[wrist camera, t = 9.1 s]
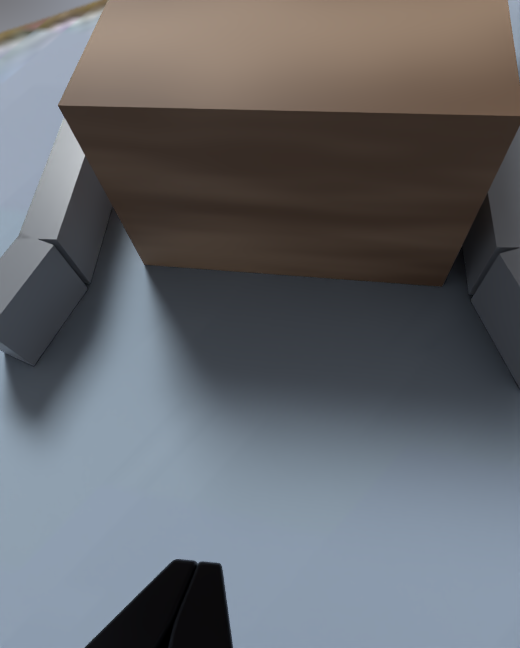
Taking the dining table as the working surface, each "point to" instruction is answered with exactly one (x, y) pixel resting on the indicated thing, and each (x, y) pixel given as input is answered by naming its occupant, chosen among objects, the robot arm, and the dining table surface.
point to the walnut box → (298, 130)
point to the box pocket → (92, 218)
